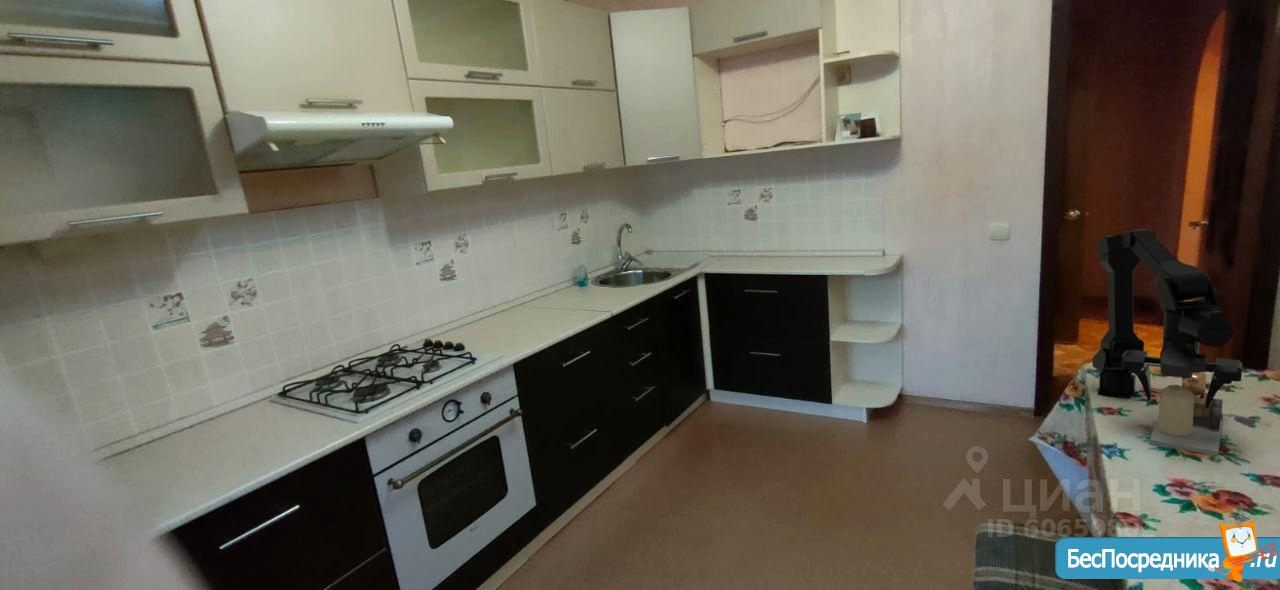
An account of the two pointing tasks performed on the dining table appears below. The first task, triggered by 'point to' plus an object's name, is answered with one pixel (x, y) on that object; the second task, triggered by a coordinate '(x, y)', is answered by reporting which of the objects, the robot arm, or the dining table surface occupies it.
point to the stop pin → (1195, 384)
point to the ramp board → (1191, 438)
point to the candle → (1176, 411)
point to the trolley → (1208, 410)
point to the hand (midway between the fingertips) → (1177, 403)
